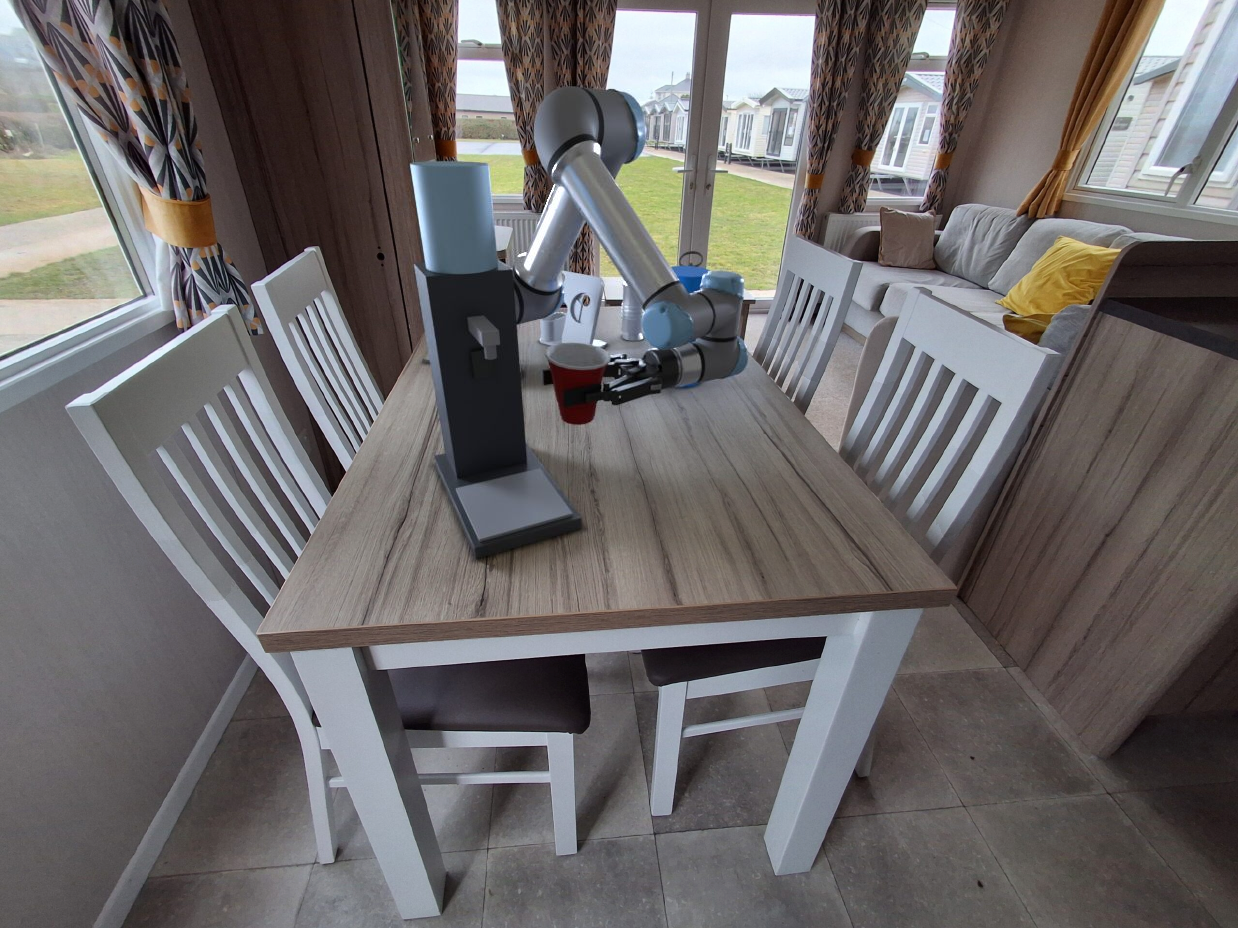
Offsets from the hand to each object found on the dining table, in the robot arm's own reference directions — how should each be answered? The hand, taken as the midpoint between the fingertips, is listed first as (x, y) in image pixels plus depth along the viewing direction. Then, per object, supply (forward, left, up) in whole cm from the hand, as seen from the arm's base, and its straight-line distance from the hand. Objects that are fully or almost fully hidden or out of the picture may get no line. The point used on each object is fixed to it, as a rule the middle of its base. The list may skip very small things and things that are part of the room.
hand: (552, 387), depth 92 cm
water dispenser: (+1, -13, -15) cm, 19 cm away
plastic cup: (+1, +4, -7) cm, 8 cm away
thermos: (-8, +46, -15) cm, 49 cm away
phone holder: (-44, +45, -15) cm, 65 cm away
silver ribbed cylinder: (-36, +61, -15) cm, 73 cm away
